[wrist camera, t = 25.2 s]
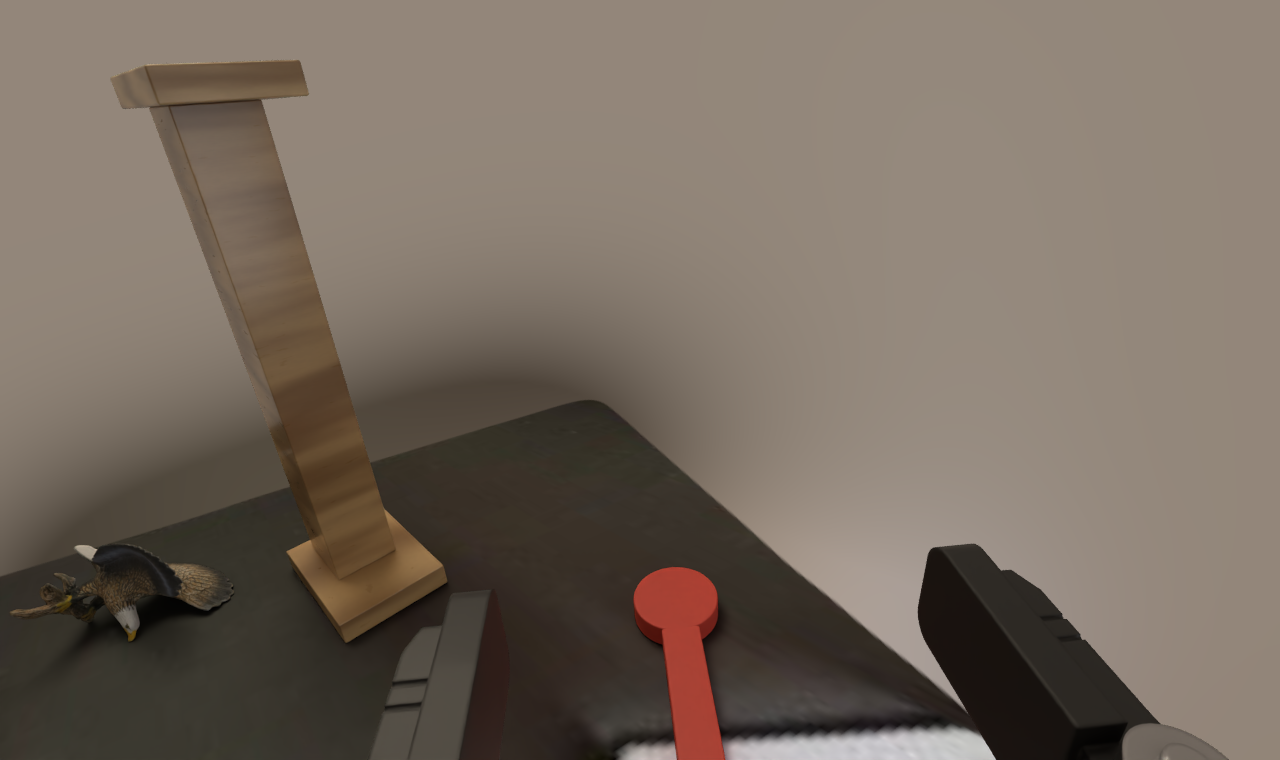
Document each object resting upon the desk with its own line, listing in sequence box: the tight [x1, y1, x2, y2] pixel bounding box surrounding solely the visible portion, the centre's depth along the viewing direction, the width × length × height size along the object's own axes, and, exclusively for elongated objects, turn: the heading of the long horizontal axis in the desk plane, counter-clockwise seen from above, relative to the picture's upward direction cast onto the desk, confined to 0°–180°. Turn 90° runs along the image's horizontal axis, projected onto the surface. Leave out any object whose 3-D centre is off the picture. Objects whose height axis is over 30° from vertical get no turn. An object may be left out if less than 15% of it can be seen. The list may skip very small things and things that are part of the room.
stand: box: [111, 60, 447, 643], centre depth 37 cm, size 10×7×32 cm
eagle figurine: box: [10, 544, 234, 641], centre depth 41 cm, size 8×7×9 cm
